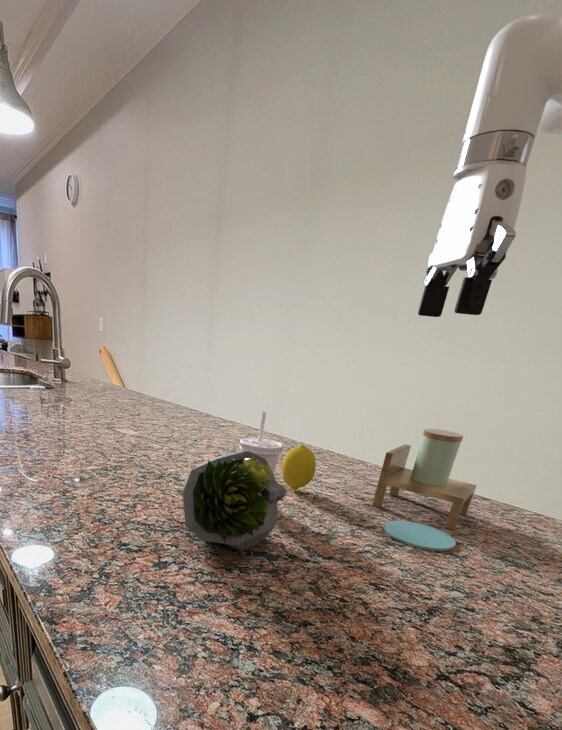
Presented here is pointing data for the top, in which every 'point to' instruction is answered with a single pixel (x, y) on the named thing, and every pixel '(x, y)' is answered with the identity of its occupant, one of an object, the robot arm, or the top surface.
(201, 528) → the potted plant
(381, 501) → the toy wooden bed
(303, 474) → the lemon
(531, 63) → the robot arm
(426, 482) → the spice jar
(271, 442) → the smoothie
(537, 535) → the top surface
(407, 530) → the coaster
